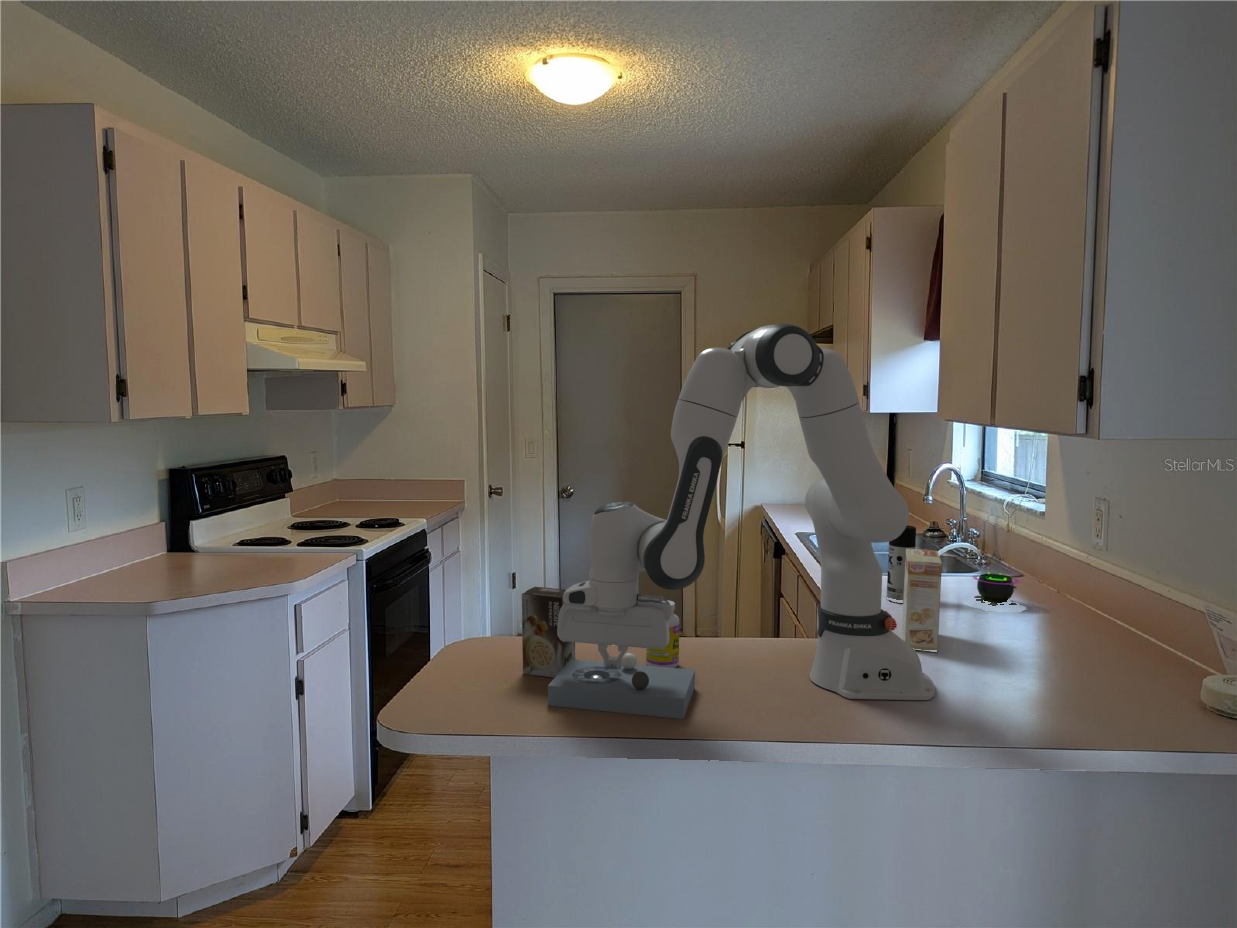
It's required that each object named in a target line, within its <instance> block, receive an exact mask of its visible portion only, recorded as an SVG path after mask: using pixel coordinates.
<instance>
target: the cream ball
mask: <svg viewBox="0 0 1237 928" xmlns="http://www.w3.org/2000/svg"><path fill="white" fill-rule="evenodd" d="M637 663H638V659H637V657H636V655H635V654H634V653H632V652H626V653H625V654H624V656H623V657H622V666H623V667H624V668H625V669H633V668H634V667H635V666H636V665H638V664H637Z"/></svg>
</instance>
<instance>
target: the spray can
mask: <svg viewBox="0 0 1237 928" xmlns="http://www.w3.org/2000/svg"><path fill="white" fill-rule="evenodd" d="M916 539H917V527H916V526H913V525H909V524H907V526H906V528H905V530H904V531H903V533H902V534H901V535H900V536H899V537H897V538H896V539H894V540H892V541H889V542H888V559H887V560H888V561H887V581H886V583H887V584H886V598H887V597H888V598H892V599H896V600H904V578H905V559H906V549H916V548H917V545H916V543H917V540H916Z"/></svg>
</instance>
